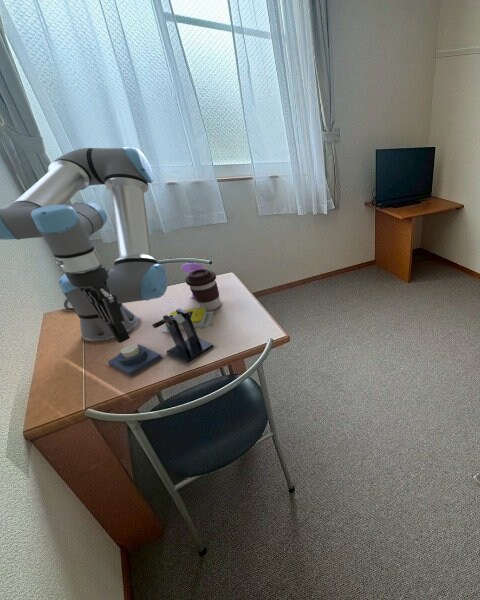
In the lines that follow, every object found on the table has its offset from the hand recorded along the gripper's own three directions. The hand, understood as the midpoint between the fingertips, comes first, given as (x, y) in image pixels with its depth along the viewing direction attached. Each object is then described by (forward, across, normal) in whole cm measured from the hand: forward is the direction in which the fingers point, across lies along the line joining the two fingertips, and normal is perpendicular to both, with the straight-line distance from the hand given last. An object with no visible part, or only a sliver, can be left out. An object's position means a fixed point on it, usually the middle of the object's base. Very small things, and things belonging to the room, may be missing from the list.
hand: (123, 339), depth 94 cm
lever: (-1, +6, +11) cm, 13 cm away
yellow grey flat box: (+9, -5, +21) cm, 24 cm away
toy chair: (+9, -20, +38) cm, 44 cm away
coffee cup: (+9, -8, +32) cm, 34 cm away
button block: (+9, 0, 0) cm, 9 cm away
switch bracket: (+9, +10, +11) cm, 17 cm away
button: (+6, 0, 0) cm, 6 cm away
